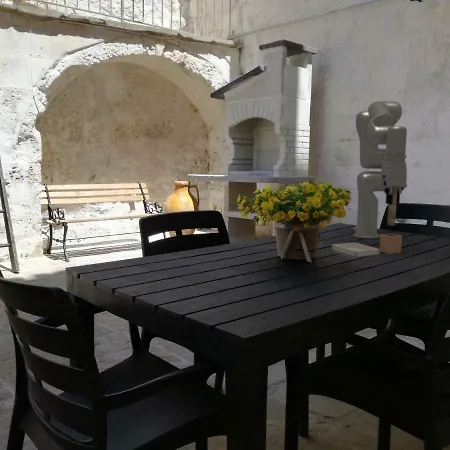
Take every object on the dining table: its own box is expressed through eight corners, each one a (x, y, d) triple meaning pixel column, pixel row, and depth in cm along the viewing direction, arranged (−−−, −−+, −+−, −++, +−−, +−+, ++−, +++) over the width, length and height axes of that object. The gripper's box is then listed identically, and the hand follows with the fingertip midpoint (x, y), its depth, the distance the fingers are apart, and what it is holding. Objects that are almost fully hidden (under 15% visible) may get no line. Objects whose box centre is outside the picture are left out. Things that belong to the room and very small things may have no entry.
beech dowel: (385, 224, 211) (388, 185, 208) (391, 223, 212) (393, 185, 209) (390, 225, 208) (393, 186, 205) (396, 225, 209) (399, 185, 206)
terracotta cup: (379, 253, 213) (380, 234, 211) (390, 252, 215) (391, 233, 214) (389, 256, 207) (390, 236, 206) (401, 255, 210) (402, 235, 208)
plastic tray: (331, 251, 216) (331, 244, 216) (354, 249, 221) (354, 242, 221) (355, 259, 202) (355, 251, 201) (379, 256, 207) (380, 249, 206)
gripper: (404, 157, 212) (401, 201, 215) (372, 157, 205) (370, 203, 209) (417, 158, 205) (414, 204, 208) (385, 158, 199) (382, 206, 202)
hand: (392, 203), depth 208 cm, fingers closed on beech dowel, 3 cm apart
